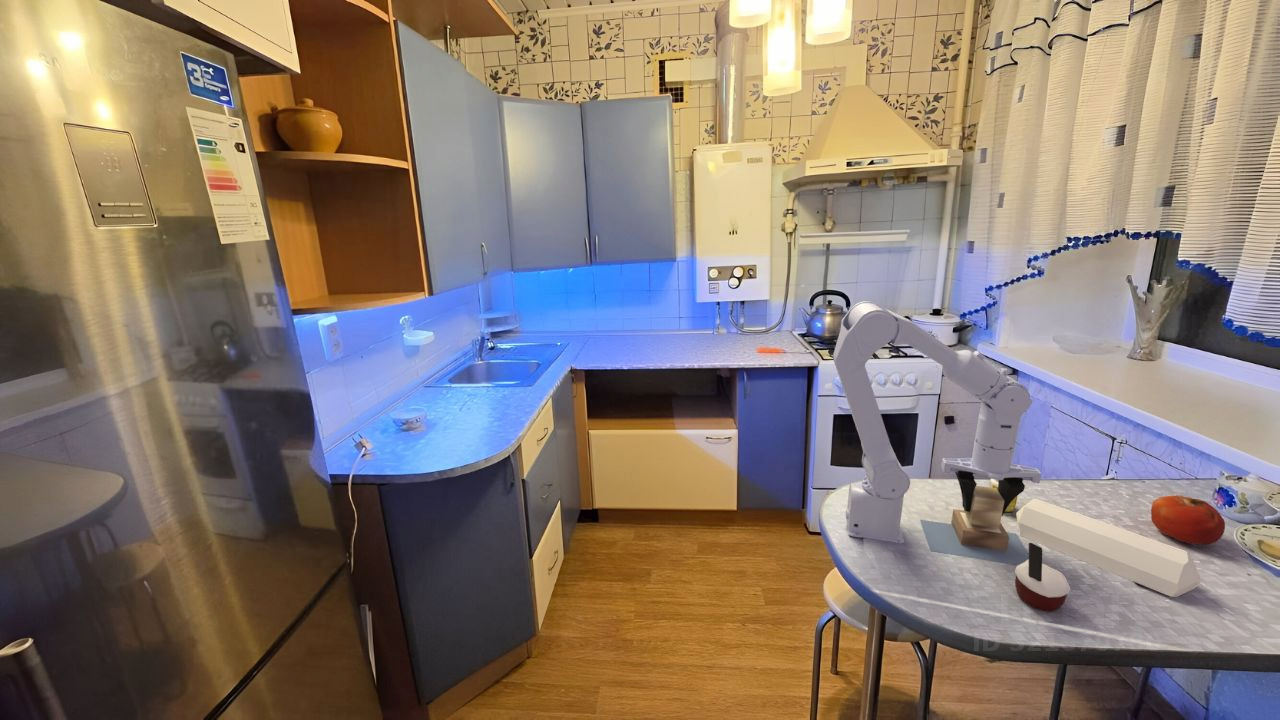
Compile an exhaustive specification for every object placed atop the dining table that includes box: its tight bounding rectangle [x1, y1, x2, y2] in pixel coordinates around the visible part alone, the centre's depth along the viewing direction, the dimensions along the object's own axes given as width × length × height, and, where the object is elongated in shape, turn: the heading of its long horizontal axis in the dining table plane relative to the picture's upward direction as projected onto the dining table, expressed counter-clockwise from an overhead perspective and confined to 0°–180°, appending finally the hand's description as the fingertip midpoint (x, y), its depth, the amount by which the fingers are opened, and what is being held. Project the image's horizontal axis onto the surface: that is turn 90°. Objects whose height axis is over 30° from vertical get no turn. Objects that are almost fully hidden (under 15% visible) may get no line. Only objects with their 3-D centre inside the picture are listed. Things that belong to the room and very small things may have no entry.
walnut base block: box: [950, 508, 1009, 551], centre depth 91 cm, size 7×7×3 cm
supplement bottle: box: [988, 478, 1018, 516], centre depth 99 cm, size 5×5×8 cm
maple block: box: [963, 485, 1004, 528], centre depth 90 cm, size 4×4×6 cm
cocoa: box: [1014, 542, 1071, 612], centre depth 75 cm, size 10×6×12 cm, turn 97°
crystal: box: [1015, 497, 1201, 598], centre depth 86 cm, size 7×7×24 cm
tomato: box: [1150, 494, 1226, 546], centre depth 90 cm, size 9×9×8 cm
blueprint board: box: [919, 519, 1029, 566], centre depth 90 cm, size 16×10×1 cm, turn 71°
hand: (982, 510), depth 90 cm, fingers open, 4 cm apart
